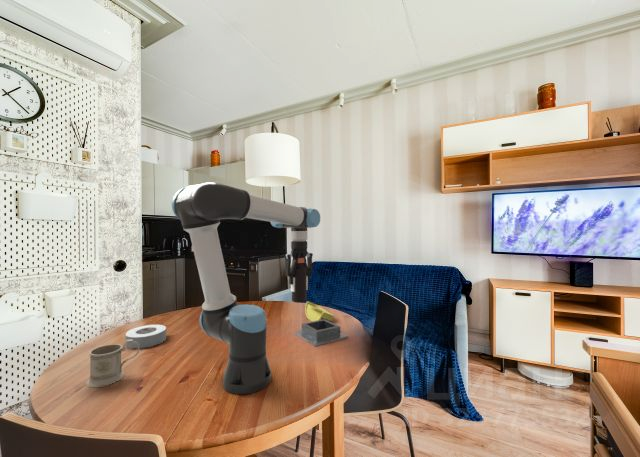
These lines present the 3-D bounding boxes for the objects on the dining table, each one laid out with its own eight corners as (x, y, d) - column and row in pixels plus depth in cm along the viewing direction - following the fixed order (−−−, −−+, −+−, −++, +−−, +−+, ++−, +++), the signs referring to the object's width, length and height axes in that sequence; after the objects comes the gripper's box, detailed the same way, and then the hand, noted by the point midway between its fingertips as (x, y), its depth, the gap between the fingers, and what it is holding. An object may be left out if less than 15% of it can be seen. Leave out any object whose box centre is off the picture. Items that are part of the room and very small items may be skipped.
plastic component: (336, 316, 152) (321, 311, 147) (330, 329, 150) (316, 324, 146) (318, 305, 169) (305, 300, 164) (313, 317, 168) (300, 312, 163)
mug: (79, 389, 85) (80, 350, 85) (95, 373, 95) (96, 338, 95) (133, 382, 89) (134, 344, 90) (143, 368, 99) (144, 334, 99)
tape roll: (153, 349, 115) (153, 336, 115) (116, 349, 115) (116, 336, 115) (172, 335, 130) (173, 324, 130) (140, 335, 130) (140, 324, 130)
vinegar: (305, 303, 126) (305, 258, 126) (290, 302, 127) (290, 258, 127) (307, 299, 133) (307, 257, 133) (293, 298, 133) (293, 256, 134)
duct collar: (314, 346, 118) (314, 335, 118) (294, 333, 133) (294, 323, 133) (347, 337, 128) (348, 327, 128) (325, 326, 143) (325, 316, 143)
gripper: (311, 239, 138) (311, 286, 138) (277, 240, 127) (277, 291, 127) (320, 240, 132) (320, 289, 132) (284, 241, 121) (284, 294, 121)
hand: (299, 290), depth 130 cm, fingers closed on vinegar, 6 cm apart
